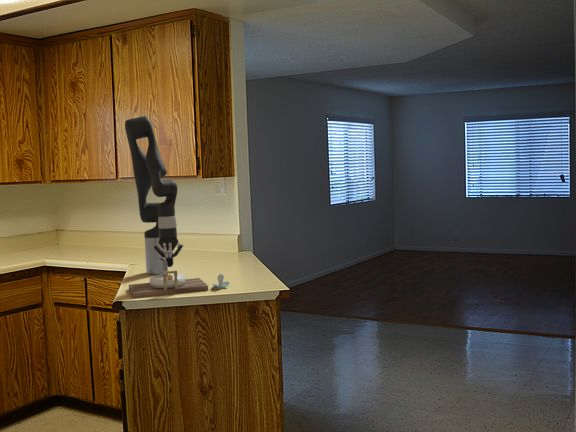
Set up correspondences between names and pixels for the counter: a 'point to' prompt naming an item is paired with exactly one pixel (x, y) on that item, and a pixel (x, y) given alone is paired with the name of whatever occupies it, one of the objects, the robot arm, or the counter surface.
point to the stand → (189, 286)
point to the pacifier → (220, 283)
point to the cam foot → (158, 280)
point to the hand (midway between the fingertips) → (170, 266)
